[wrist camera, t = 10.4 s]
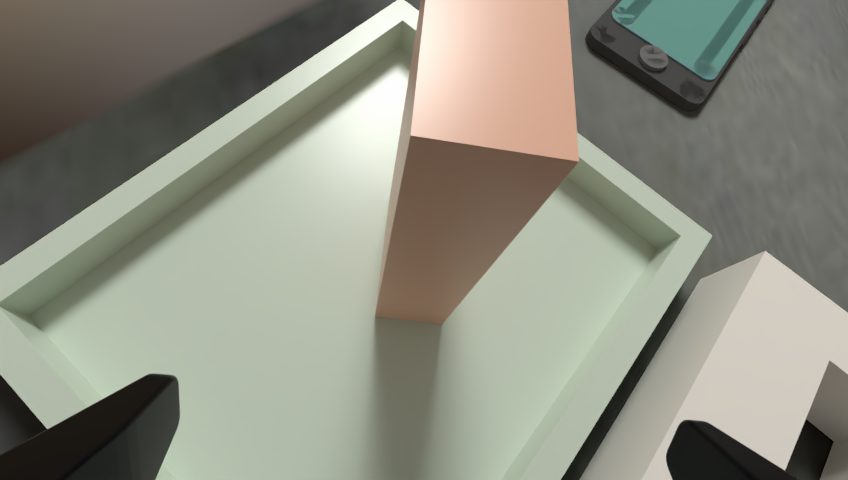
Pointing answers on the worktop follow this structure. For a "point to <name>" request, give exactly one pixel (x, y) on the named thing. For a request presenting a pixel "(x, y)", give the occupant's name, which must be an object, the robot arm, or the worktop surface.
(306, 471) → the tray
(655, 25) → the smartphone
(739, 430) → the white slotted base
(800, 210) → the worktop surface
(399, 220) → the salmon pink rectangular block
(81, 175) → the worktop surface
